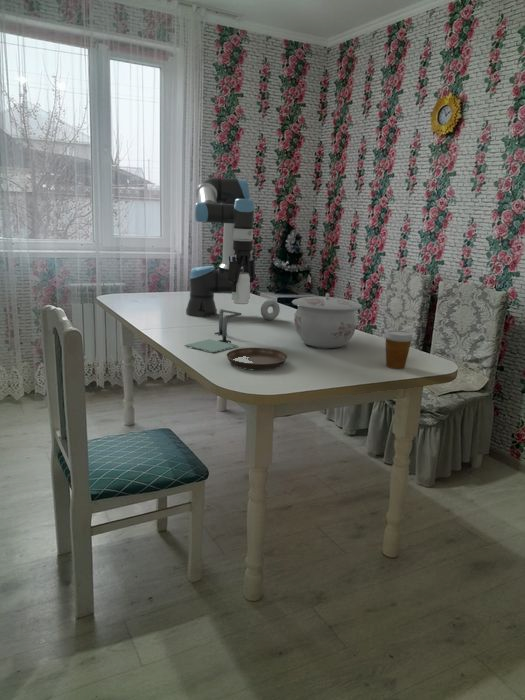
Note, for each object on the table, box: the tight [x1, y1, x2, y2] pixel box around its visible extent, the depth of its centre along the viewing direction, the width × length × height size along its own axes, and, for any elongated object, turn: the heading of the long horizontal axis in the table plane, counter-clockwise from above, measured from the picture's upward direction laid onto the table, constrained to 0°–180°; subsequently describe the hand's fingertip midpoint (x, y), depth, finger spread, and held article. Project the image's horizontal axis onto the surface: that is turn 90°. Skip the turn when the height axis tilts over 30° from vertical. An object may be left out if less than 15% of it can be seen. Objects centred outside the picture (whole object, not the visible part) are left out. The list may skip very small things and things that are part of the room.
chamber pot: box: [291, 292, 363, 350], centre depth 211 cm, size 28×28×21 cm
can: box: [232, 272, 250, 305], centre depth 212 cm, size 6×6×12 cm
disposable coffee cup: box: [384, 329, 414, 370], centre depth 185 cm, size 10×10×12 cm
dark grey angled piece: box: [214, 308, 242, 343], centre depth 215 cm, size 14×14×10 cm
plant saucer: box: [225, 347, 288, 371], centre depth 181 cm, size 21×21×3 cm
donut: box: [260, 299, 281, 321], centre depth 257 cm, size 10×4×10 cm, turn 117°
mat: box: [184, 338, 238, 352], centre depth 201 cm, size 14×14×1 cm
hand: (240, 299), depth 213 cm, fingers closed on can, 6 cm apart
